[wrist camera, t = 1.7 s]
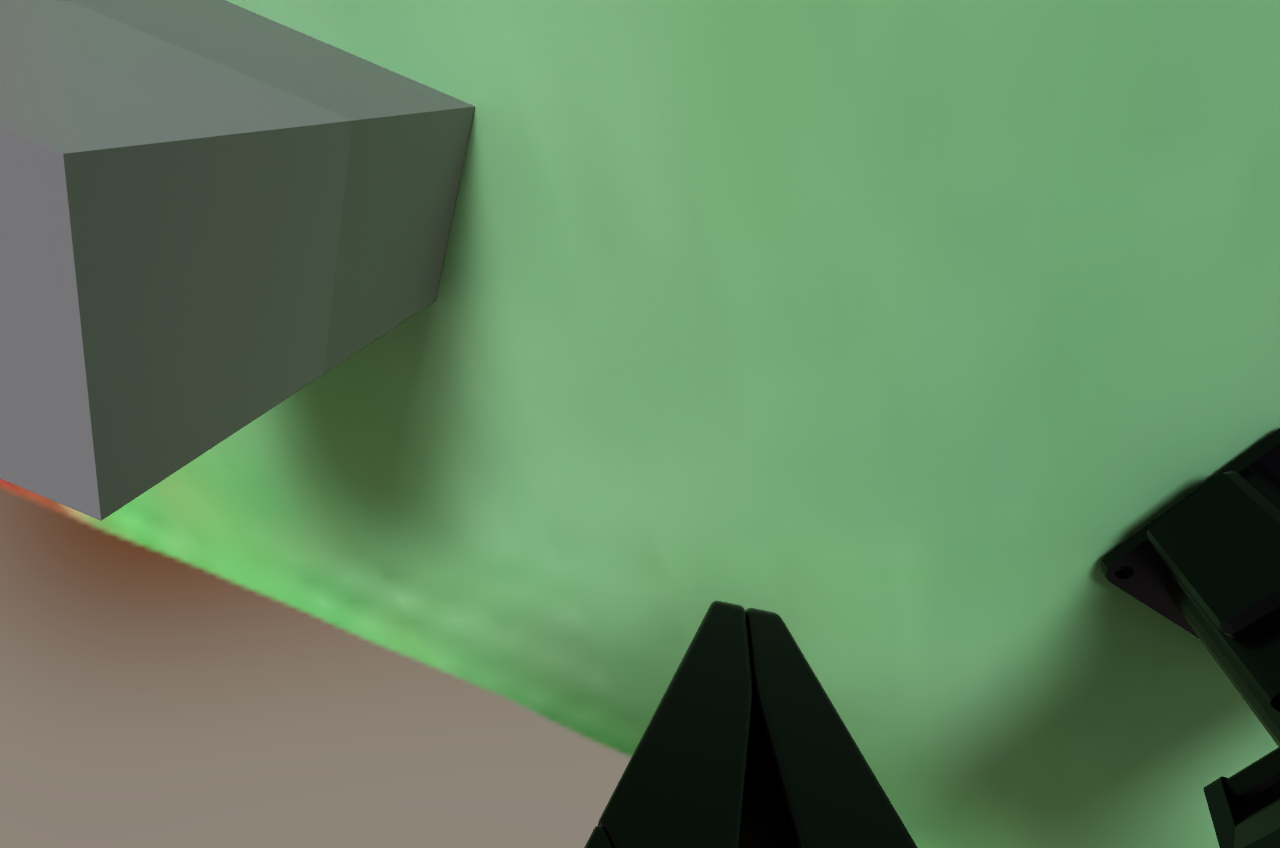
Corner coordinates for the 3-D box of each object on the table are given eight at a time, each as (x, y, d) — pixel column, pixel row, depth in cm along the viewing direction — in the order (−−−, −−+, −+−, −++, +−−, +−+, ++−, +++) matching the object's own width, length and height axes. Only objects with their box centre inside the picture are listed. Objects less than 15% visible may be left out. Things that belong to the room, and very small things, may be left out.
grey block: (476, 106, 18) (62, 154, 8) (436, 299, 21) (101, 520, 11) (6, -94, 18) (-1048, -315, 8) (34, 129, 21) (-697, 187, 11)
